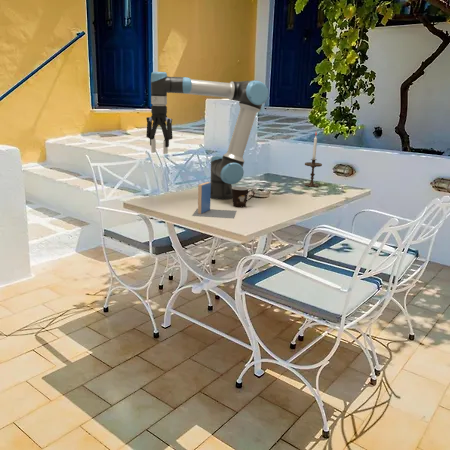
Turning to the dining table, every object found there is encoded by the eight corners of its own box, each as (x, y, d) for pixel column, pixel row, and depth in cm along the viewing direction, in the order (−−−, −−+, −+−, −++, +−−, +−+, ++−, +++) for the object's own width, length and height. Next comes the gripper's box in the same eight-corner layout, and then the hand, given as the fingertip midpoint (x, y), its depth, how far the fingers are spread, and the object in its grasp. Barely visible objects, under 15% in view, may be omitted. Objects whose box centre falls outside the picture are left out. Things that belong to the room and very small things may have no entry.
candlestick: (304, 183, 309) (308, 129, 300) (321, 185, 306) (325, 130, 296) (301, 186, 299) (306, 131, 290) (318, 188, 296) (323, 132, 286)
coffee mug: (230, 208, 238) (230, 189, 236) (232, 204, 247) (232, 186, 244) (252, 210, 237) (253, 190, 234) (254, 206, 245) (255, 187, 242)
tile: (206, 209, 233) (207, 181, 229) (210, 210, 232) (211, 182, 228) (197, 213, 225) (198, 184, 221) (201, 214, 224) (202, 185, 220)
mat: (197, 209, 234) (197, 208, 234) (236, 211, 232) (236, 210, 232) (191, 217, 220) (191, 215, 220) (234, 219, 219) (234, 218, 218)
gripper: (138, 104, 227) (139, 152, 233) (171, 106, 219) (171, 155, 225) (147, 104, 233) (147, 150, 240) (180, 106, 225) (180, 153, 232)
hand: (159, 152), depth 233 cm, fingers open, 6 cm apart
